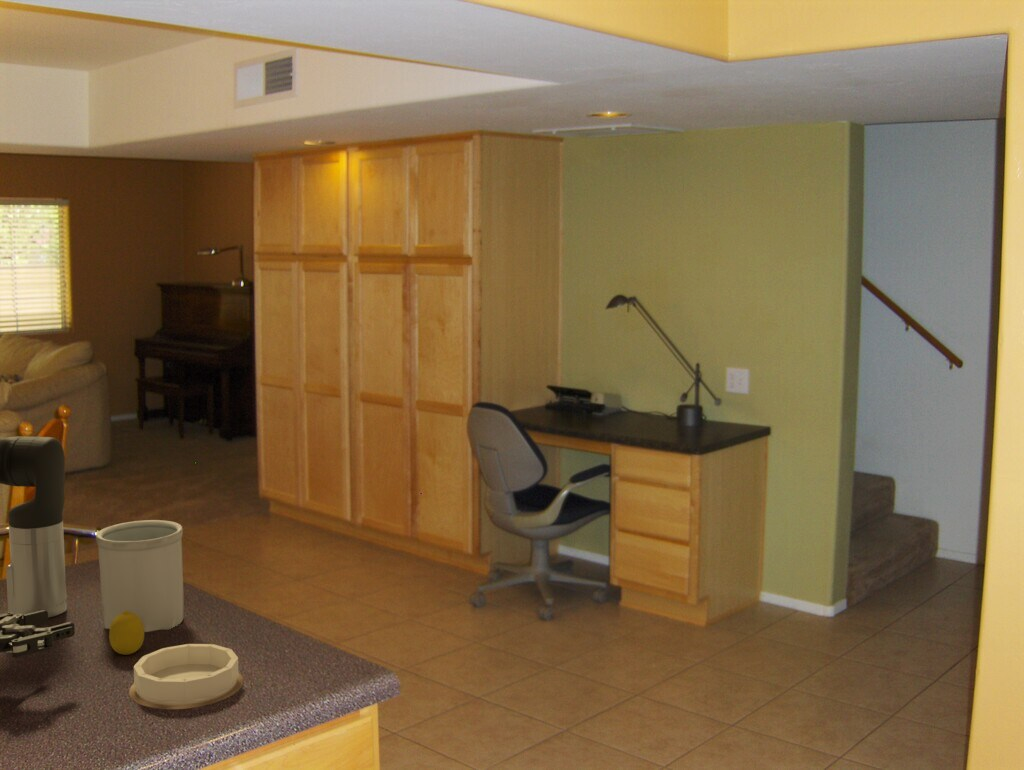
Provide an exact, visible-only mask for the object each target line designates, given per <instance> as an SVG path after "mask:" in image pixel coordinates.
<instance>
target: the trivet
mask: <svg viewBox="0 0 1024 770" xmlns="http://www.w3.org/2000/svg"><path fill="white" fill-rule="evenodd" d="M238 673H239V676H238V678H237V684H236V686H235V687H234V688H233V689H232V690H231V691H230V692H229V693H227V694H225V695H223V696H221V697H219V698H217V699H214V700H211V701H208V702H204V703H199V704H193V705H186V706H163V705H156V704H151V703H148V702H145V701H143V700H142V699H140V698H139V697H138V696H137V693H136V687H135V686H134V683H133V684H132V685H131V686H130V688H129V692H128V694H129V697H130V698H131V700H132V701H133V702H135V703H137V704H139V705H141V706H143V707H147V708H152V709H161V710H184V709H193V708H199V707H203V706H209V705H212V704H215V703H218V702H221V701H223V700H225V699H228V698H231V696H233V695H235V694H236V693H238V692H239V691H240V689H241V688H242V687H243V684H244V677H243V676H242V674H241V673H240V672H239V671H238Z"/></svg>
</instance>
